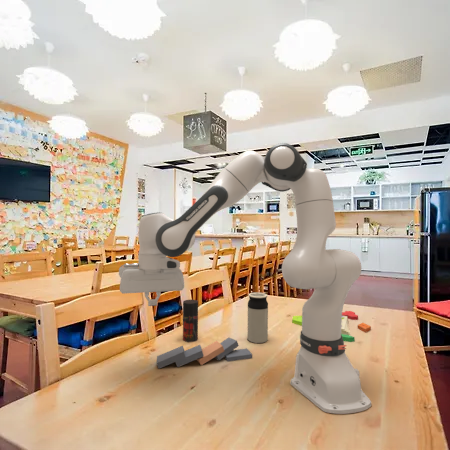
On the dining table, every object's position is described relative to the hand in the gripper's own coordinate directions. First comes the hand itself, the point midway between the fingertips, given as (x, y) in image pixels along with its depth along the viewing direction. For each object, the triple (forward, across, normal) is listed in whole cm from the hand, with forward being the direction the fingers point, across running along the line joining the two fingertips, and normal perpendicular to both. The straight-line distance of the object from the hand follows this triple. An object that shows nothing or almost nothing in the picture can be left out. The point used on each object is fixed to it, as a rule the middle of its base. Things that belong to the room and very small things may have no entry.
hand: (152, 305), depth 100 cm
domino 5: (+19, +24, 0) cm, 31 cm away
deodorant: (+19, +15, +20) cm, 31 cm away
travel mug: (+20, +41, +13) cm, 47 cm away
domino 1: (+19, +2, 0) cm, 19 cm away
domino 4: (+19, +20, +1) cm, 28 cm away
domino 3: (+19, +14, -1) cm, 24 cm away
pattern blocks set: (+20, +79, +23) cm, 84 cm away
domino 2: (+19, +8, 0) cm, 20 cm away
